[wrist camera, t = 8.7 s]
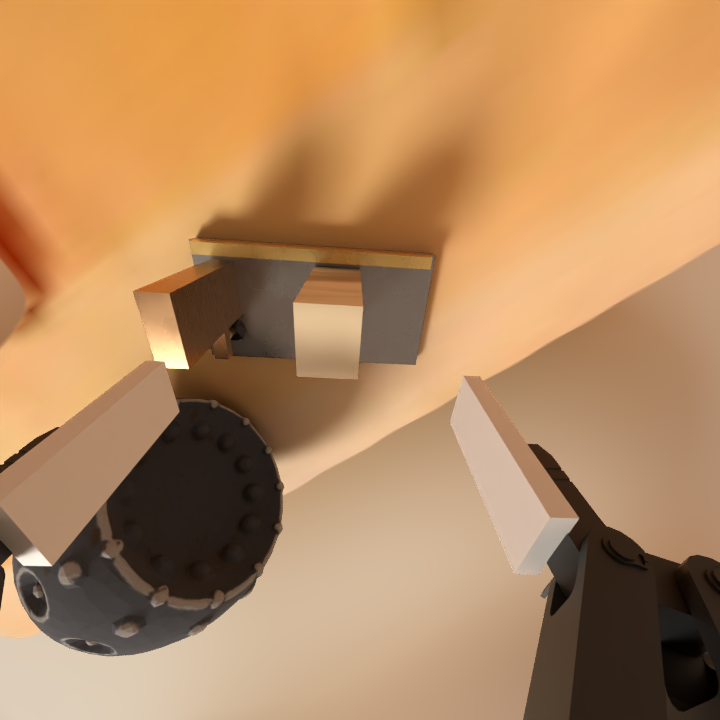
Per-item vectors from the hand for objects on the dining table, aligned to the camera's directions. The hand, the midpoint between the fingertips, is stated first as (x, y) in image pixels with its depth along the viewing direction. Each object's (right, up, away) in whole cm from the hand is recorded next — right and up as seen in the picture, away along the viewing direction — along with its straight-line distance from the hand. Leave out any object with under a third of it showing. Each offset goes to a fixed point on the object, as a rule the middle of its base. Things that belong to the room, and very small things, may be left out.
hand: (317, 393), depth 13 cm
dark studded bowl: (-15, -7, +23) cm, 29 cm away
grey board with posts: (-2, +7, +15) cm, 17 cm away
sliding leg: (0, +6, +14) cm, 15 cm away
